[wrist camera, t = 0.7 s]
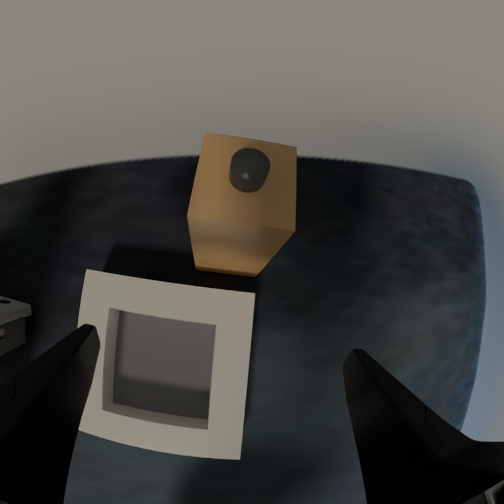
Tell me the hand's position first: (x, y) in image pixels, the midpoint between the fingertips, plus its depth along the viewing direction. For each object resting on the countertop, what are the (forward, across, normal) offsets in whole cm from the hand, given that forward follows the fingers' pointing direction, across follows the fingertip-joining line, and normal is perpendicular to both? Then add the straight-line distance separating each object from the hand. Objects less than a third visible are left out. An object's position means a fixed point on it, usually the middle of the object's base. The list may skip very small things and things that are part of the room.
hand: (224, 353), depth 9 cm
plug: (+15, 0, +4) cm, 16 cm away
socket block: (+8, +4, +11) cm, 14 cm away
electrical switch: (+8, +22, +11) cm, 26 cm away
